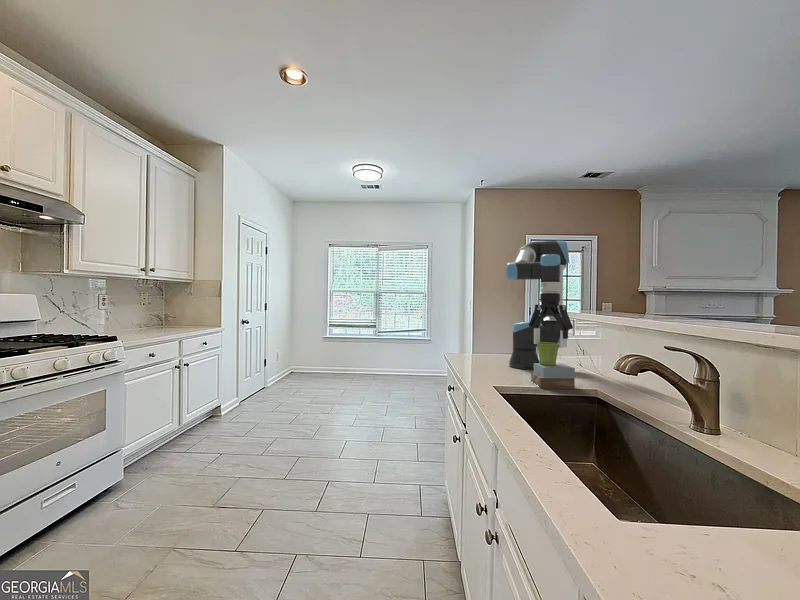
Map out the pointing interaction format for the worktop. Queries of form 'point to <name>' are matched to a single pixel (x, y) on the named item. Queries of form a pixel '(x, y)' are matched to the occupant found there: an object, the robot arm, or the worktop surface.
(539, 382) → the walnut base block
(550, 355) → the plant pot
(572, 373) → the slate top block
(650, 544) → the worktop surface
